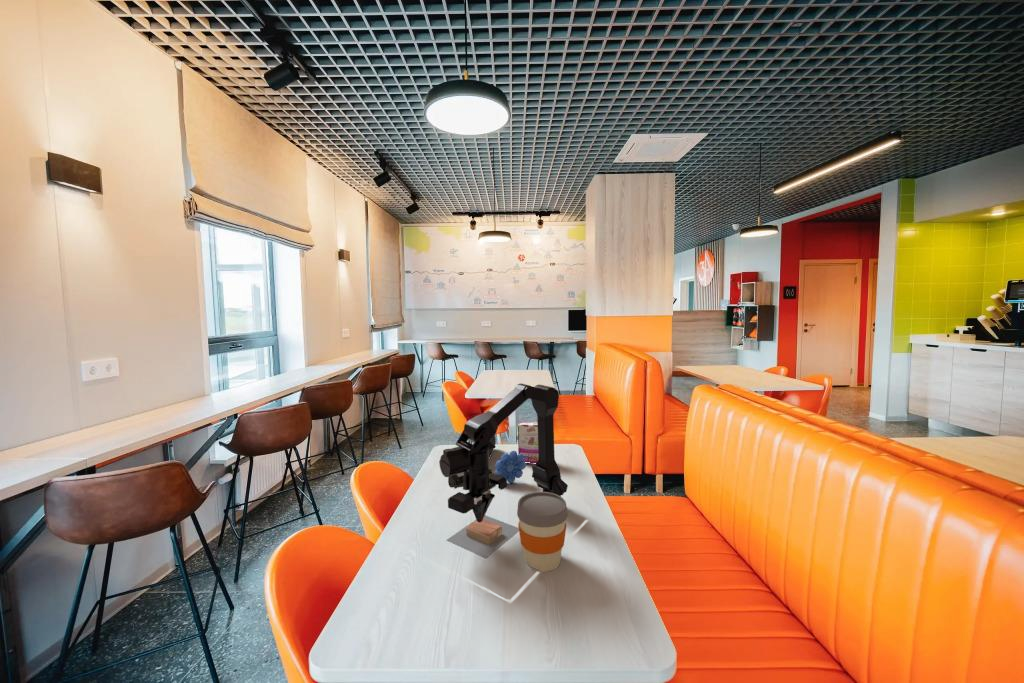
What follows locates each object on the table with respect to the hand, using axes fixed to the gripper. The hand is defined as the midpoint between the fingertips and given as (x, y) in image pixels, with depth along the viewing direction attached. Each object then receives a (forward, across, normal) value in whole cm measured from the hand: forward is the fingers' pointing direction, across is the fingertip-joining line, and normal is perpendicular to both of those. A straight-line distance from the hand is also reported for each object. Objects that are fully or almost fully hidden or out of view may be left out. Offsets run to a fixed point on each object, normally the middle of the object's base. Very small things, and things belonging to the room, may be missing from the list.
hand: (479, 521), depth 108 cm
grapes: (+6, -34, -14) cm, 37 cm away
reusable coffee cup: (+6, -2, +19) cm, 20 cm away
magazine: (+6, -44, -34) cm, 56 cm away
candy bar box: (+6, -54, -17) cm, 57 cm away
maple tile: (+4, -5, 0) cm, 6 cm away
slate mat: (+5, -2, 0) cm, 6 cm away
